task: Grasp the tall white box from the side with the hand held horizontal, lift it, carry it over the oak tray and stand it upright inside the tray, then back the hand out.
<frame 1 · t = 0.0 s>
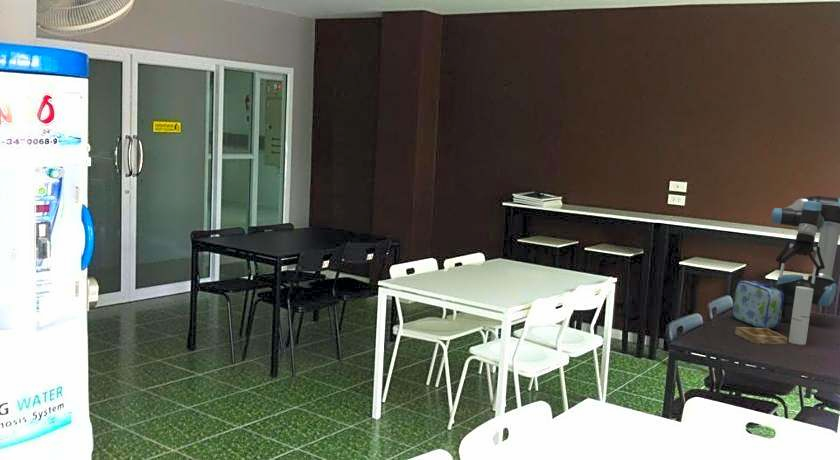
hand: (796, 280, 365), 28 cm above the table, tool tilted 20°, fingers open, 13 cm apart
oak tray: (760, 339, 368), on the table
tall white box: (797, 343, 367), on the table
lunch box: (755, 325, 398), on the table
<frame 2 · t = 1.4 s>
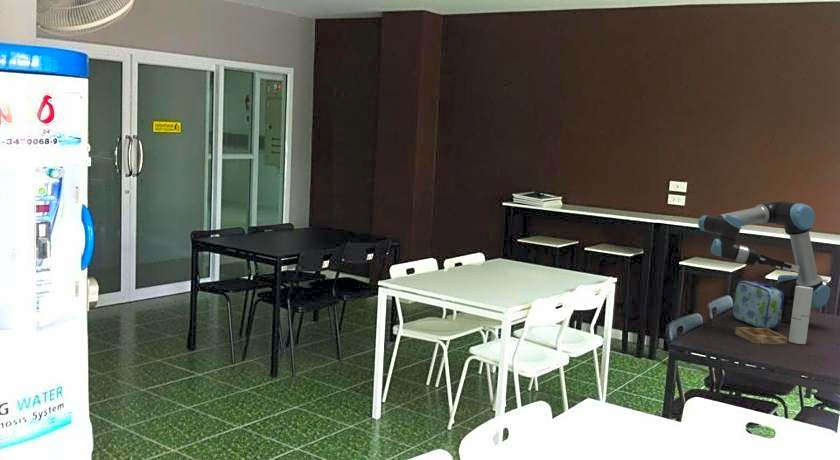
hand: (795, 268, 367), 33 cm above the table, tool horizontal, fingers open, 13 cm apart
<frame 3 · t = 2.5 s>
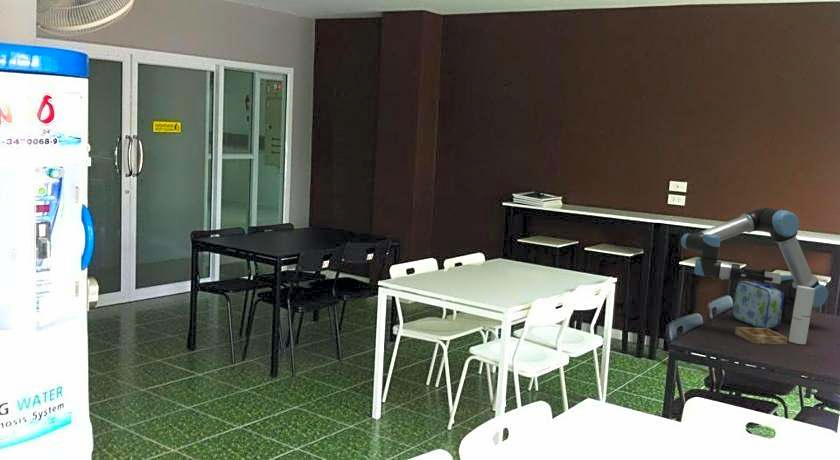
hand: (780, 278, 367), 28 cm above the table, tool horizontal, fingers open, 13 cm apart
nothing on the table moved.
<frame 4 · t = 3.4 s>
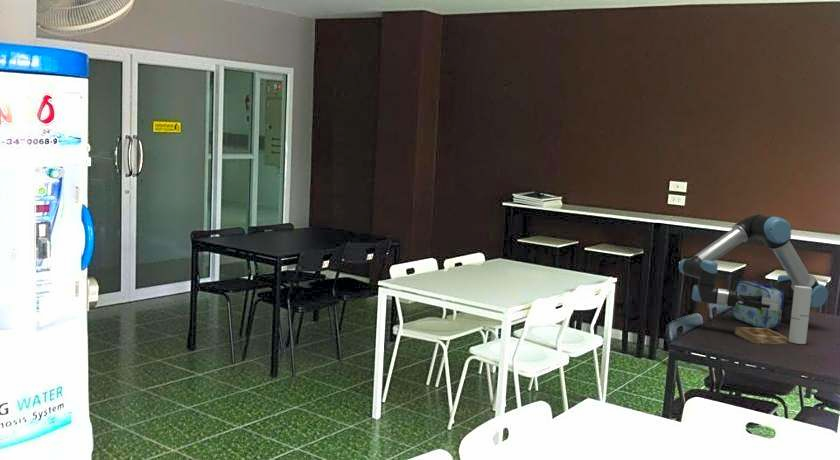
hand: (777, 305, 369), 16 cm above the table, tool horizontal, fingers open, 13 cm apart
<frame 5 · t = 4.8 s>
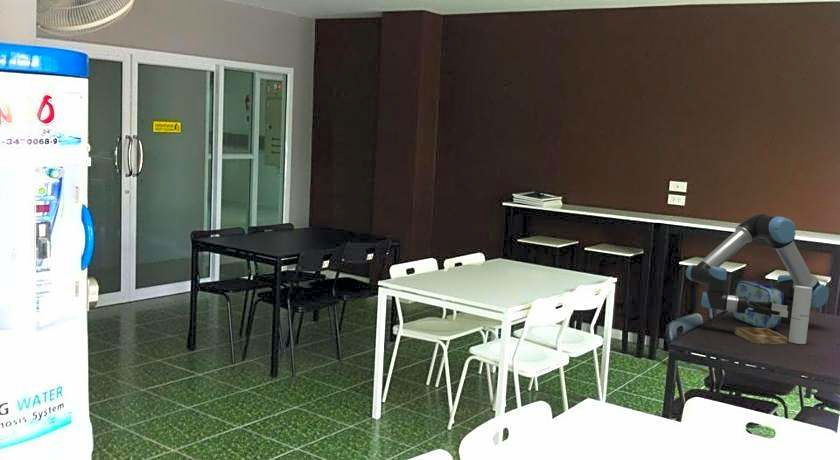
hand: (787, 311, 367), 13 cm above the table, tool horizontal, fingers open, 13 cm apart
nothing on the table moved.
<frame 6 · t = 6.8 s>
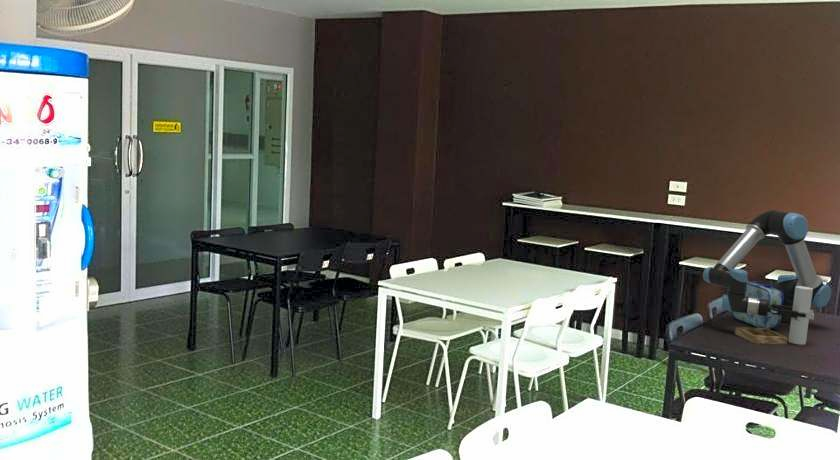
hand: (813, 314, 364), 14 cm above the table, tool horizontal, fingers closed on tall white box, 7 cm apart
tall white box: (796, 342, 367), on the table, touching gripper
everything else where it was.
when the fingers open (15 cm above the table, at t = 12.2 s): tall white box stays where it is, resting on oak tray.
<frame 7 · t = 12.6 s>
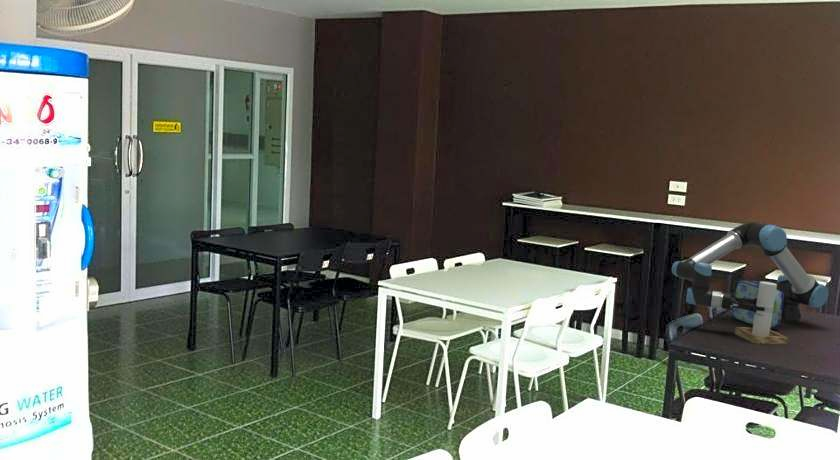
hand: (772, 307, 365), 15 cm above the table, tool horizontal, fingers open, 13 cm apart
tall white box: (759, 338, 368), resting on oak tray
everything else where it was.
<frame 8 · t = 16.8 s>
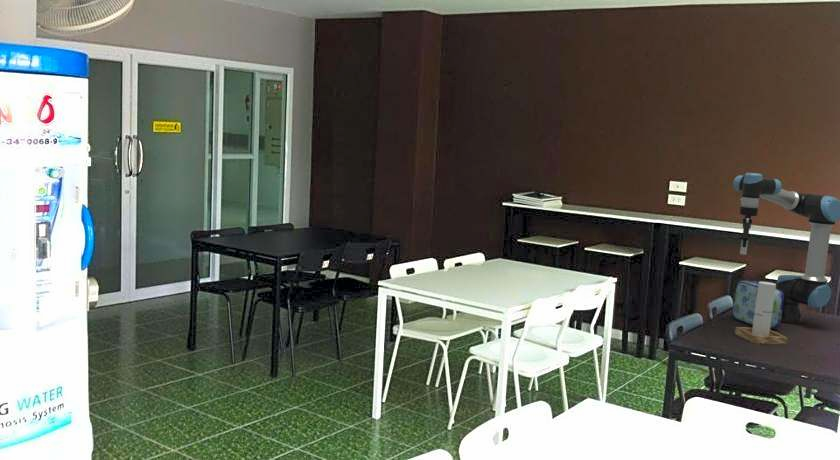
hand: (743, 252, 378), 37 cm above the table, tool pointing down, fingers open, 13 cm apart
nothing on the table moved.
at the end: tall white box inside the target area on the oak tray (0.1 cm from its centre), point 0.4 cm above the oak tray's base; tall white box tilted 0°; the gripper is holding nothing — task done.
